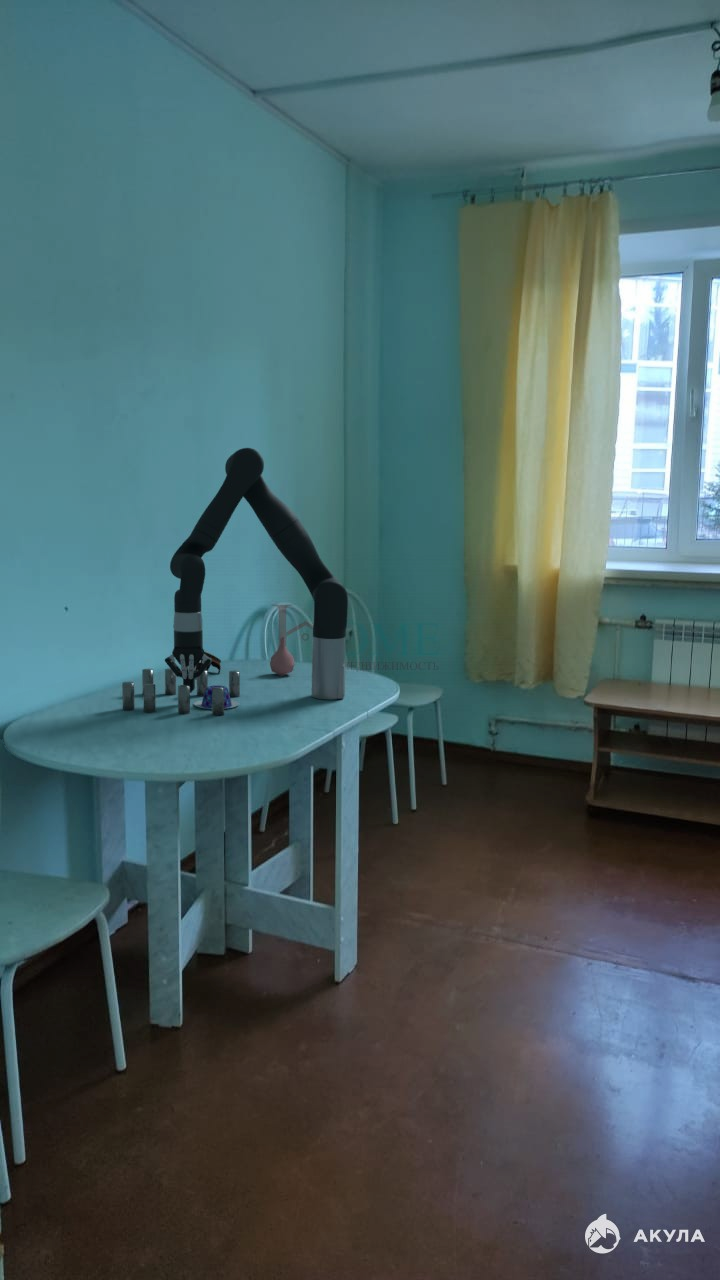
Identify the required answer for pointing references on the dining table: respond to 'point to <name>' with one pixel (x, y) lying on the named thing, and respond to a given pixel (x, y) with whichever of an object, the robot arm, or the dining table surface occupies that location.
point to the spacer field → (179, 691)
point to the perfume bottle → (282, 660)
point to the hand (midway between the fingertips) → (189, 692)
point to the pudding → (208, 699)
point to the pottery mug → (214, 663)
